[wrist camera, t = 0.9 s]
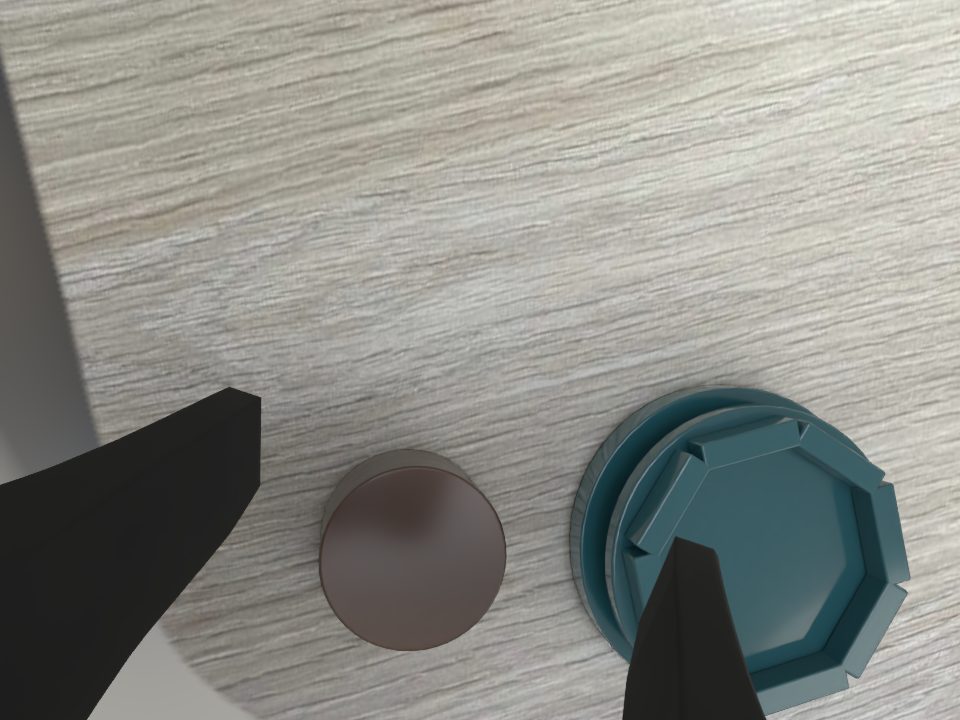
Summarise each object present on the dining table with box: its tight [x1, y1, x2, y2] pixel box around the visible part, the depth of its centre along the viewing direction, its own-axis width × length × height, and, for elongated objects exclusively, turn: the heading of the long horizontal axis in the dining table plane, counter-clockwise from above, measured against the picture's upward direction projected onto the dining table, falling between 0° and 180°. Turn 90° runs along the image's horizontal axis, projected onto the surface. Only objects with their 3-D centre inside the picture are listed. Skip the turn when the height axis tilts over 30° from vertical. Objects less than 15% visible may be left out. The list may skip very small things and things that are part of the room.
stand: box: [570, 385, 910, 716], centre depth 25 cm, size 10×10×4 cm
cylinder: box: [319, 449, 506, 651], centre depth 24 cm, size 5×5×3 cm
